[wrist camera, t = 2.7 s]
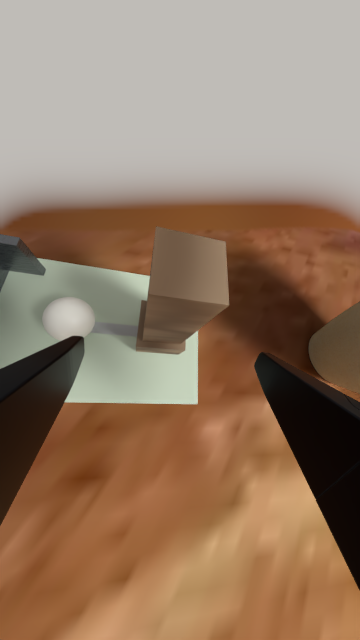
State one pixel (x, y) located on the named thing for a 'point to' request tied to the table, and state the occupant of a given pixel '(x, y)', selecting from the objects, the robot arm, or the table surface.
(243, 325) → the table surface
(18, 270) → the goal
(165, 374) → the pitch
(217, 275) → the block
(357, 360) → the plant pot
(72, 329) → the ball
